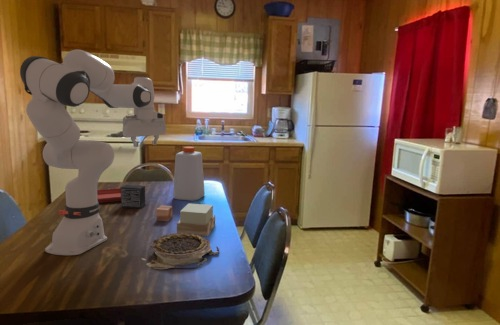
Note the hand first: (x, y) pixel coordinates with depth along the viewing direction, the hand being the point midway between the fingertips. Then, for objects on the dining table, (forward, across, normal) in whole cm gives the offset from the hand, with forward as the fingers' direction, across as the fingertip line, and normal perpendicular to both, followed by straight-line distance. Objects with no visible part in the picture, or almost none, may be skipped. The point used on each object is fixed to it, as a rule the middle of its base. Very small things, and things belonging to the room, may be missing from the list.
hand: (145, 145), depth 163 cm
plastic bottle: (+34, +34, +12) cm, 49 cm away
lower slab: (+34, +6, -28) cm, 44 cm away
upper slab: (+29, +6, -28) cm, 41 cm away
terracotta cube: (+34, +4, -8) cm, 35 cm away
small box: (+34, +3, +18) cm, 38 cm away
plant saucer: (+34, +2, +39) cm, 51 cm away
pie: (+34, -12, -41) cm, 55 cm away
